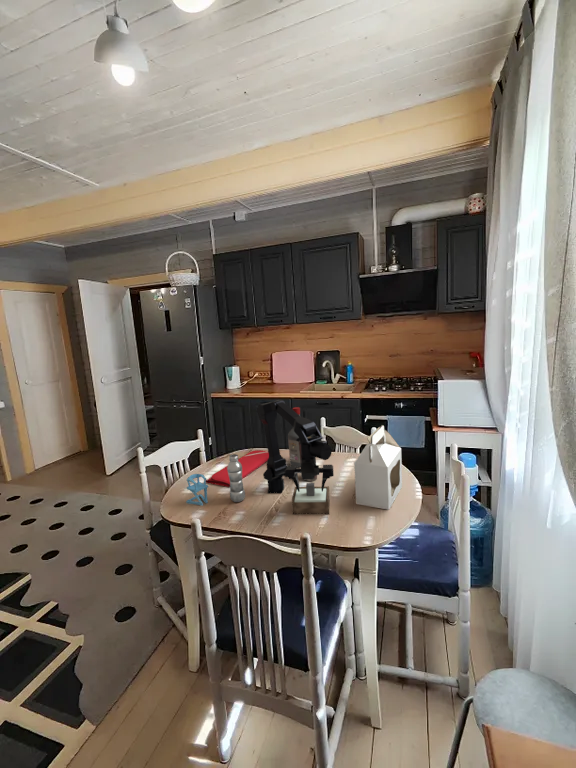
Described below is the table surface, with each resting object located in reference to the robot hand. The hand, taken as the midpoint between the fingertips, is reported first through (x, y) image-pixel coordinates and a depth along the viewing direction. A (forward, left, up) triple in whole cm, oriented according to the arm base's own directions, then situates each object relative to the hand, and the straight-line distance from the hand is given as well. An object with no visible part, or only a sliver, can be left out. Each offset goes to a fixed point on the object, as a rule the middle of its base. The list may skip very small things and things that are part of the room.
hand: (310, 491), depth 150 cm
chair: (-49, +6, -7) cm, 50 cm away
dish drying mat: (-38, +41, -8) cm, 57 cm away
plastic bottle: (-32, +7, -7) cm, 34 cm away
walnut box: (0, 0, -7) cm, 7 cm away
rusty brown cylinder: (-3, +28, -7) cm, 29 cm away
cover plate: (0, 0, -2) cm, 2 cm away
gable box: (+28, +11, -7) cm, 31 cm away
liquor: (-9, +46, -7) cm, 47 cm away
